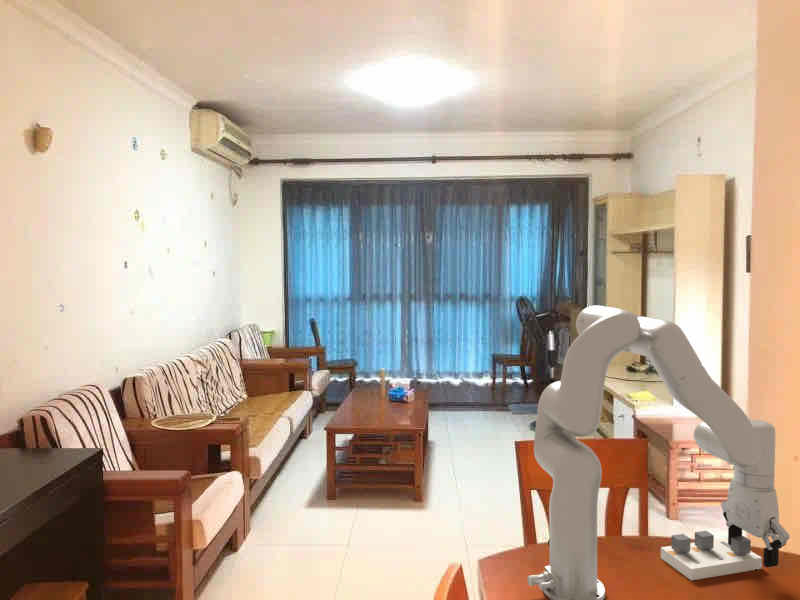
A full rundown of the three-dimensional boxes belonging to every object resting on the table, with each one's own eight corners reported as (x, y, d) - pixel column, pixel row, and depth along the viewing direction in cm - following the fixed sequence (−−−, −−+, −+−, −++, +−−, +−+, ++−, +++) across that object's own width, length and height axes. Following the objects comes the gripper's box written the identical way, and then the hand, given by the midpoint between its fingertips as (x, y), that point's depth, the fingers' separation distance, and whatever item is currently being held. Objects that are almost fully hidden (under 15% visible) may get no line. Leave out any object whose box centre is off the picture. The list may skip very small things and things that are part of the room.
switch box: (691, 580, 129) (691, 568, 129) (660, 557, 138) (660, 546, 138) (761, 568, 133) (762, 557, 133) (727, 547, 143) (727, 536, 142)
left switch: (678, 553, 135) (678, 540, 134) (671, 548, 137) (671, 535, 137) (690, 551, 135) (690, 538, 135) (682, 546, 138) (683, 533, 137)
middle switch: (702, 549, 136) (702, 536, 136) (694, 544, 138) (694, 532, 138) (713, 548, 137) (713, 535, 136) (705, 543, 139) (706, 530, 139)
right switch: (739, 555, 133) (739, 541, 133) (730, 550, 136) (730, 537, 135) (750, 553, 134) (750, 540, 134) (741, 548, 136) (742, 535, 136)
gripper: (709, 466, 138) (708, 539, 139) (773, 495, 121) (771, 577, 122) (737, 463, 139) (735, 535, 141) (803, 491, 123) (801, 572, 124)
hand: (752, 554), depth 131 cm, fingers open, 9 cm apart
